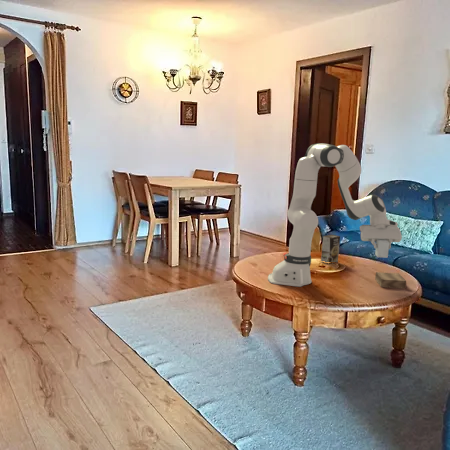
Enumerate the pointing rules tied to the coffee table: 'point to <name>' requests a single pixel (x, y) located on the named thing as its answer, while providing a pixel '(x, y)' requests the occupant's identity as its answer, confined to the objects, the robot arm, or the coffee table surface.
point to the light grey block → (382, 248)
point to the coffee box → (330, 248)
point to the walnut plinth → (390, 280)
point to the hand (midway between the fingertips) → (382, 248)
